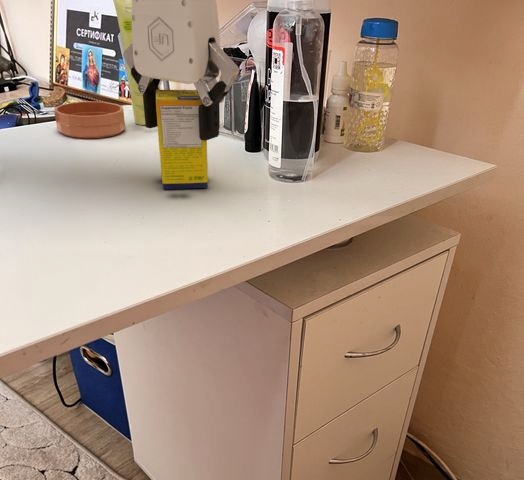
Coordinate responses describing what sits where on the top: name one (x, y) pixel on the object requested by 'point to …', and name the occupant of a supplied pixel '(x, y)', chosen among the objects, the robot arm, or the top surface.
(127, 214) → the top surface
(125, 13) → the tube
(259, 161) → the top surface
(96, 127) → the shallow terracotta bowl
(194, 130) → the supplement box
